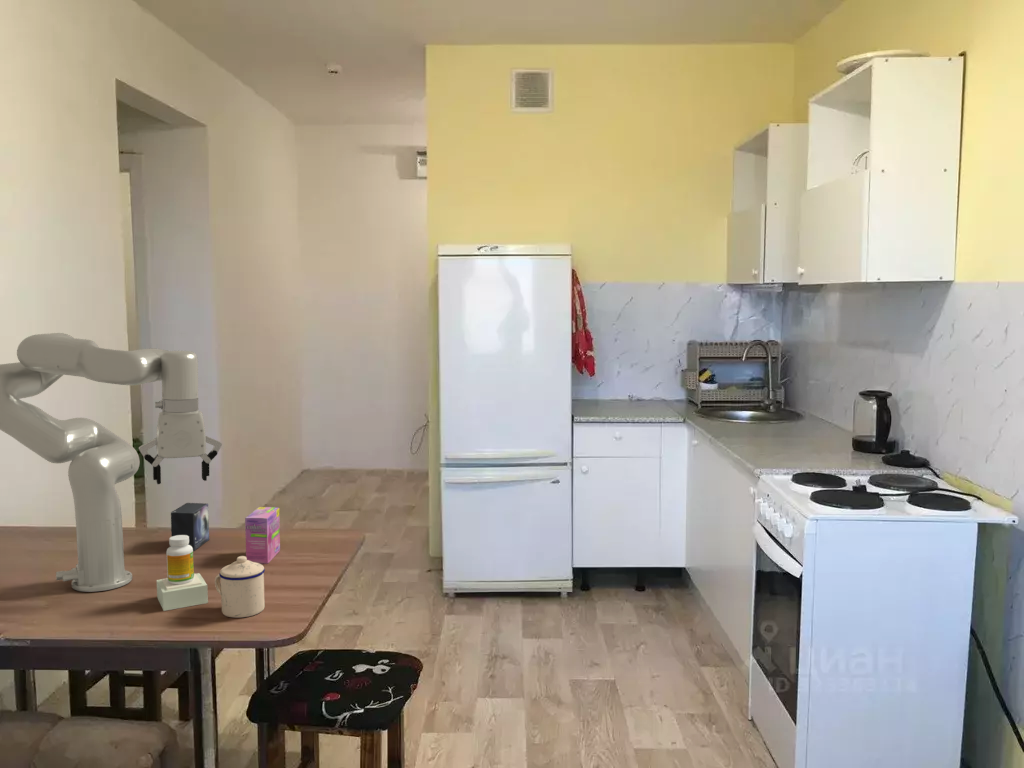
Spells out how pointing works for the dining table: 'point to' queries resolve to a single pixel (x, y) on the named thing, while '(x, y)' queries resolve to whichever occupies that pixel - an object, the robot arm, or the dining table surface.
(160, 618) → the dining table surface
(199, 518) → the small box
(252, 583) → the teacup with lid
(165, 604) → the pedestal
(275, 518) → the box
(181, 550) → the supplement bottle
